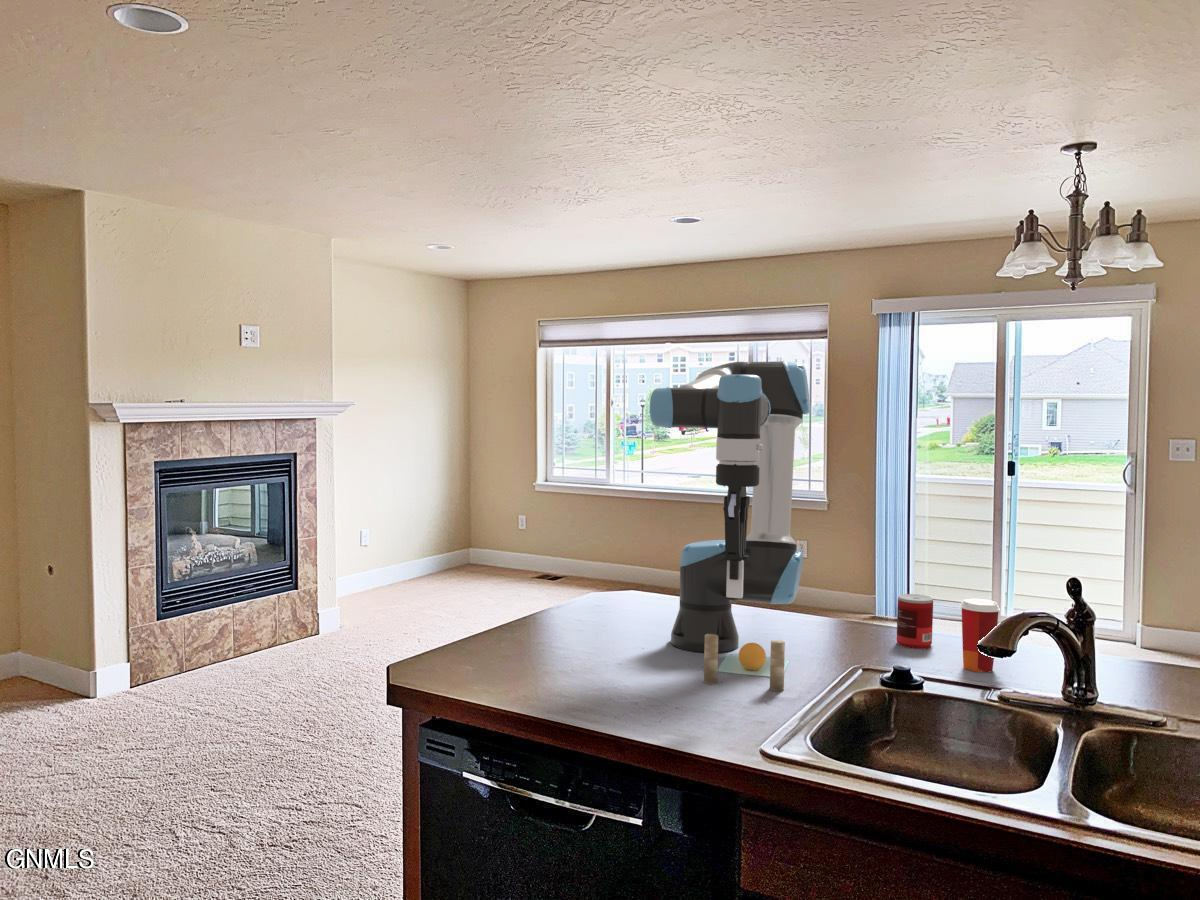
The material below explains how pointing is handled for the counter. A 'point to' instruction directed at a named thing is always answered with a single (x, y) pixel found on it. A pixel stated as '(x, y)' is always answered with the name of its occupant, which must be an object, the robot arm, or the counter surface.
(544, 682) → the counter surface
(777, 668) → the right post
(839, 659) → the counter surface
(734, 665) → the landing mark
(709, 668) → the left post
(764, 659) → the ball
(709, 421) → the robot arm
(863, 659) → the counter surface
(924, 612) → the canned food
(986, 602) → the paper cup
